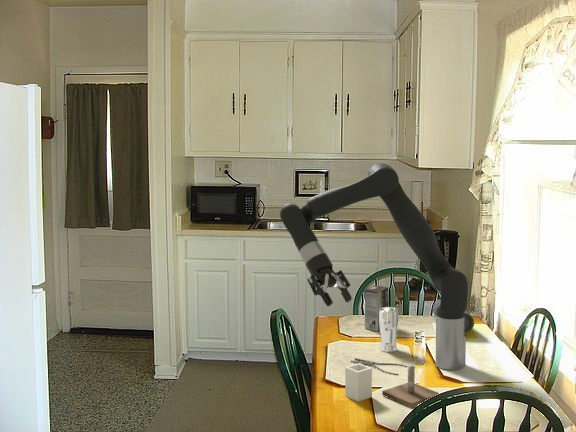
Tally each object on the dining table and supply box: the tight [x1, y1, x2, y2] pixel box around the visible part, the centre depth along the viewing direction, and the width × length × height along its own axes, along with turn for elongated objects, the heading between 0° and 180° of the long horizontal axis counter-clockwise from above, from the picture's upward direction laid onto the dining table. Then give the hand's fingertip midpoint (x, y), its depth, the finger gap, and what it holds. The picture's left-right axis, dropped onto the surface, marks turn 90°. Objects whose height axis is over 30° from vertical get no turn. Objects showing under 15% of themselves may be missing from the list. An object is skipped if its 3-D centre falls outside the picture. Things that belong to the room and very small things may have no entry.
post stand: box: [381, 364, 440, 409], centre depth 207 cm, size 12×12×10 cm
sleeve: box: [344, 363, 373, 402], centre depth 208 cm, size 6×6×9 cm
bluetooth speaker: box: [432, 298, 475, 335], centre depth 275 cm, size 23×9×10 cm, turn 9°
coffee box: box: [364, 284, 390, 332], centre depth 278 cm, size 9×6×16 cm
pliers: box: [350, 357, 409, 376], centre depth 233 cm, size 10×1×20 cm
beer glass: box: [379, 306, 399, 353], centre depth 251 cm, size 7×7×15 cm
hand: (340, 303), depth 211 cm, fingers open, 8 cm apart
